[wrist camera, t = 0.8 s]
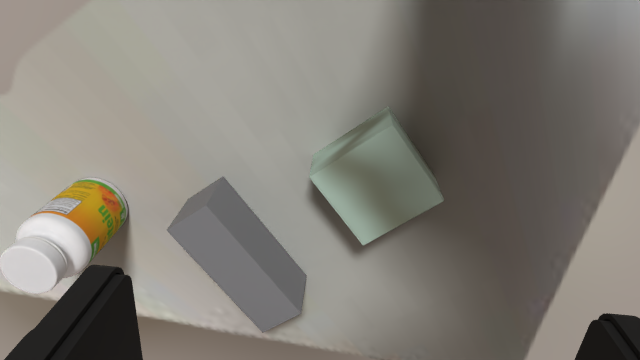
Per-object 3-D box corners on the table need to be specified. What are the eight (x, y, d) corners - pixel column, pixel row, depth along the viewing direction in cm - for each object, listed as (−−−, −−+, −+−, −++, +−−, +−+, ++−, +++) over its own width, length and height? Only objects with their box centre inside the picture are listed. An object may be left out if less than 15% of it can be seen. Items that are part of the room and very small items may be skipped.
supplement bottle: (134, 231, 41) (75, 304, 32) (76, 228, 41) (1, 300, 32) (123, 176, 39) (56, 239, 30) (62, 174, 39) (-23, 236, 30)
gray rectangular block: (223, 176, 38) (205, 205, 33) (306, 275, 42) (301, 313, 37) (187, 199, 39) (166, 230, 35) (272, 293, 43) (262, 332, 38)
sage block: (387, 105, 35) (392, 124, 31) (434, 174, 37) (444, 200, 33) (313, 153, 37) (309, 177, 33) (361, 216, 39) (363, 245, 35)
